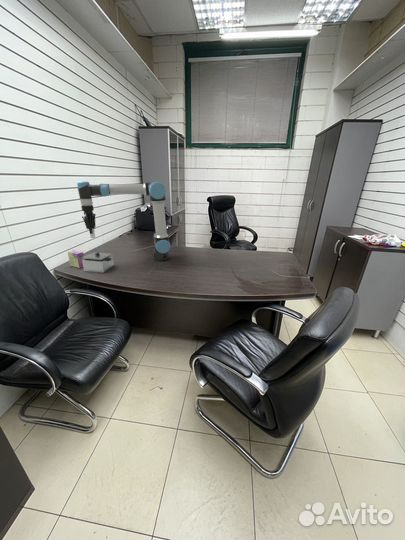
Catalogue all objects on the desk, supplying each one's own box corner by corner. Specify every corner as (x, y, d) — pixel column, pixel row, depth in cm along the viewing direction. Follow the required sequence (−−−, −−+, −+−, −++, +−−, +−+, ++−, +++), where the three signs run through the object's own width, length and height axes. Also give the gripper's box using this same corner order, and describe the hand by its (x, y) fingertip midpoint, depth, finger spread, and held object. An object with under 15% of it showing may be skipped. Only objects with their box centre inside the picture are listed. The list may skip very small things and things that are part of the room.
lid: (112, 254, 175) (111, 251, 174) (101, 260, 161) (101, 256, 160) (94, 253, 176) (93, 250, 176) (81, 258, 162) (81, 254, 161)
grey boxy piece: (116, 265, 178) (114, 255, 175) (106, 273, 164) (104, 261, 161) (93, 263, 180) (91, 253, 177) (81, 270, 167) (79, 259, 163)
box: (85, 265, 176) (83, 251, 171) (79, 268, 171) (76, 253, 166) (76, 263, 180) (74, 249, 175) (70, 265, 175) (67, 251, 170)
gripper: (87, 203, 161) (93, 235, 170) (76, 205, 149) (82, 239, 158) (97, 204, 160) (102, 235, 169) (86, 206, 148) (92, 240, 157)
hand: (93, 237), depth 164 cm, fingers closed
